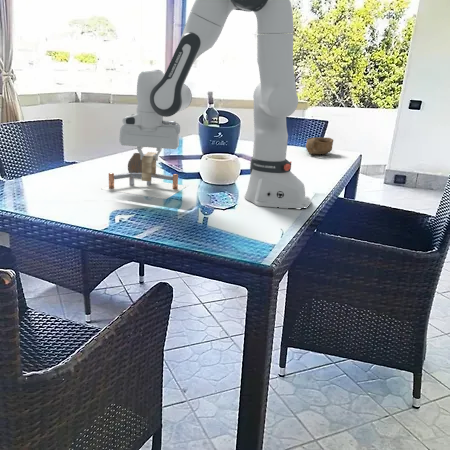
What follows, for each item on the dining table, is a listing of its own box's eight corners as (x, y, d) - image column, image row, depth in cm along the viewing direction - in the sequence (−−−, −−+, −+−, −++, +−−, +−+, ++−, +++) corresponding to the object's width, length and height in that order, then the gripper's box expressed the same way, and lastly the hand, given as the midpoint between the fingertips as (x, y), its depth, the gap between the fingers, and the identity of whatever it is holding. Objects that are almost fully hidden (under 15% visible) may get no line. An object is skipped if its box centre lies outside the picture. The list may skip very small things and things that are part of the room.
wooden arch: (155, 174, 177) (156, 152, 174) (150, 181, 168) (150, 158, 165) (147, 173, 177) (148, 152, 174) (141, 180, 168) (142, 157, 165)
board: (188, 187, 176) (188, 185, 175) (166, 201, 158) (166, 199, 158) (128, 179, 182) (128, 177, 182) (100, 191, 165) (100, 189, 165)
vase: (142, 179, 184) (142, 156, 181) (124, 177, 185) (124, 154, 182) (148, 175, 190) (148, 152, 187) (131, 173, 191) (131, 150, 188)
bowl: (330, 156, 240) (327, 136, 238) (302, 160, 246) (299, 141, 244) (337, 150, 256) (334, 131, 254) (311, 154, 262) (308, 136, 260)
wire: (176, 184, 176) (176, 171, 174) (177, 189, 170) (178, 175, 168) (109, 183, 172) (109, 169, 170) (108, 188, 166) (108, 174, 164)
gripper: (181, 120, 168) (180, 160, 173) (122, 116, 169) (122, 155, 174) (179, 123, 162) (177, 164, 167) (117, 118, 163) (118, 159, 168)
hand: (149, 159), depth 170 cm, fingers closed on wooden arch, 3 cm apart
